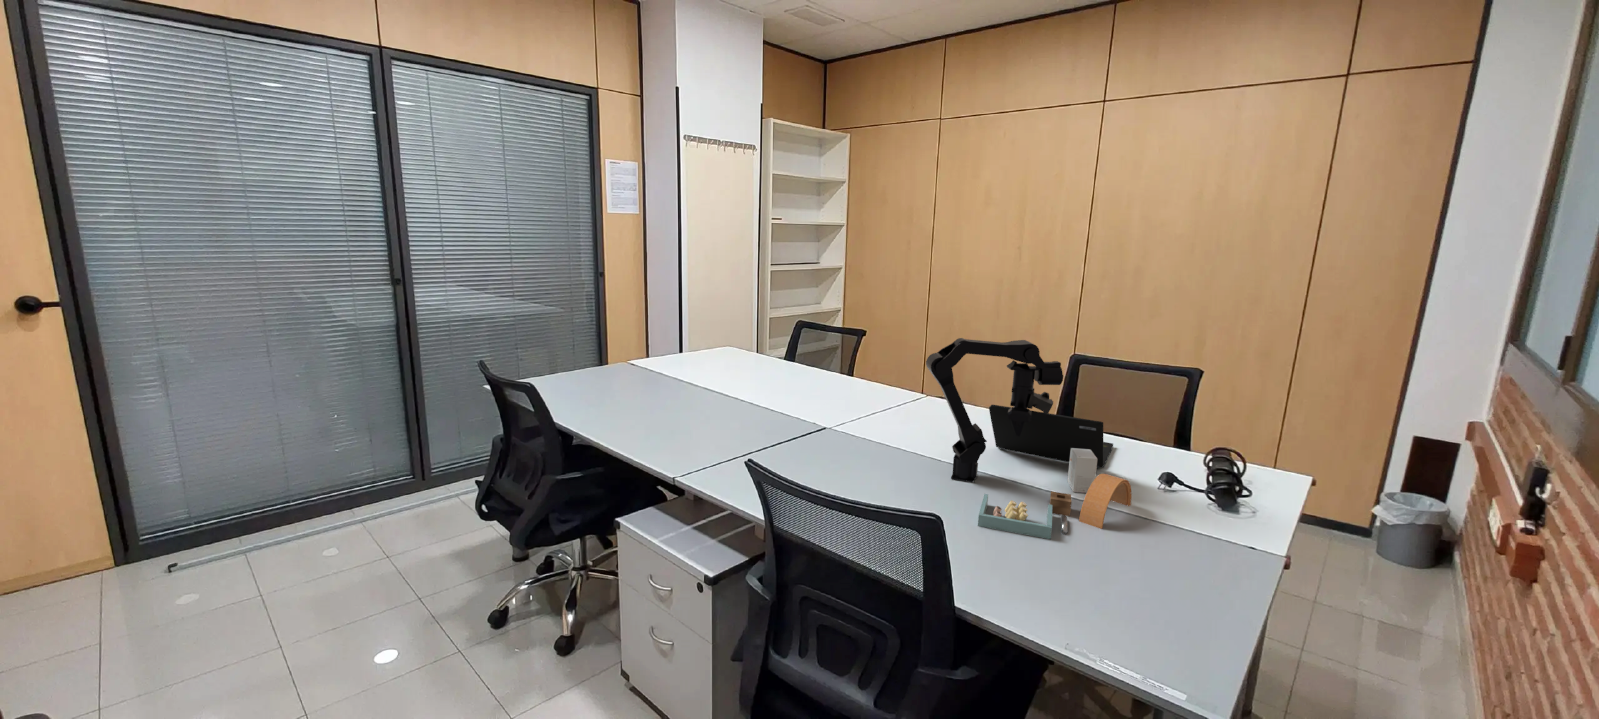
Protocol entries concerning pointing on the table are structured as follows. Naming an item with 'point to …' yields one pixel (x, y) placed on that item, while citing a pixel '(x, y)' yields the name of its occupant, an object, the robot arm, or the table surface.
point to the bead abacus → (1013, 511)
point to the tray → (1015, 523)
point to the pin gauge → (1063, 524)
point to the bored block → (1060, 503)
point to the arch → (1103, 498)
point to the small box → (1081, 469)
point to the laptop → (1050, 435)
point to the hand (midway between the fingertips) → (1018, 435)
